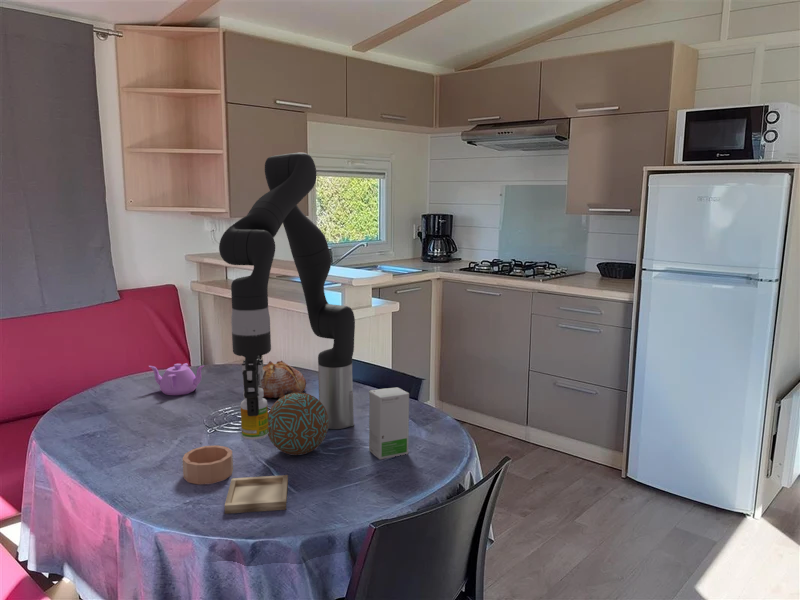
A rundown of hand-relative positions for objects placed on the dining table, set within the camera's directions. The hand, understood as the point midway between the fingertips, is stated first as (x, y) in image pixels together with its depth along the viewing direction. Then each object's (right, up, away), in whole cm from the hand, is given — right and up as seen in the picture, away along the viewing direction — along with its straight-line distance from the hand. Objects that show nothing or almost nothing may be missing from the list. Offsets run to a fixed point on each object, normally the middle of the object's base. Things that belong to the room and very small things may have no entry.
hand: (254, 409), depth 128 cm
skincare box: (+27, -15, +26) cm, 40 cm away
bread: (-9, -7, +73) cm, 74 cm away
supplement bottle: (0, -6, +1) cm, 6 cm away
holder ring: (-14, -17, +14) cm, 26 cm away
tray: (0, -19, +3) cm, 19 cm away
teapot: (-41, -7, +73) cm, 84 cm away
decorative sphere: (+5, -15, +26) cm, 30 cm away
